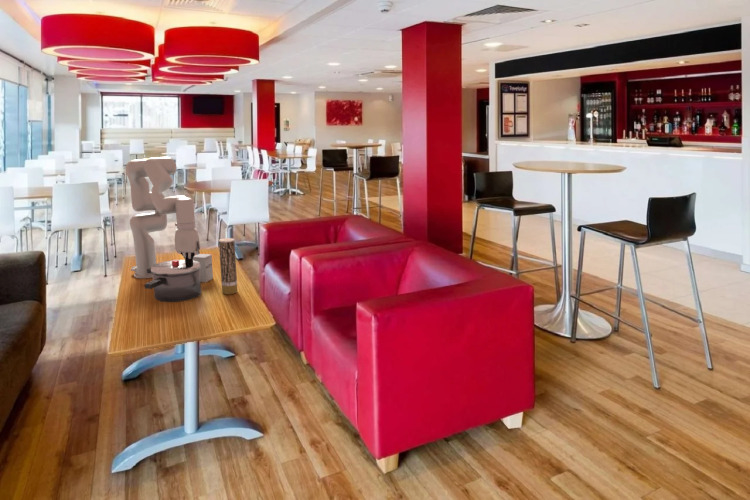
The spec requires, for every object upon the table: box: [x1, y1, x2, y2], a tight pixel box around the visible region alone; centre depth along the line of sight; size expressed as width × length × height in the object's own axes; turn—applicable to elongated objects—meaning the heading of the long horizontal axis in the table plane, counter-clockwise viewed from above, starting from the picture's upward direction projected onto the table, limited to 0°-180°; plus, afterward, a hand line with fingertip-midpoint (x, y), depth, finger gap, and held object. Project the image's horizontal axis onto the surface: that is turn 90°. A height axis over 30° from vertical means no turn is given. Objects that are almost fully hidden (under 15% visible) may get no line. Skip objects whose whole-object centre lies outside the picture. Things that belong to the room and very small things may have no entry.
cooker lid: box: [151, 259, 200, 275], centre depth 246 cm, size 21×21×4 cm
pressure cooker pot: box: [144, 268, 202, 303], centre depth 244 cm, size 23×30×12 cm
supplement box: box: [193, 253, 214, 283], centre depth 271 cm, size 7×7×13 cm
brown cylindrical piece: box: [218, 237, 238, 295], centre depth 250 cm, size 7×7×25 cm
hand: (189, 266), depth 245 cm, fingers closed
